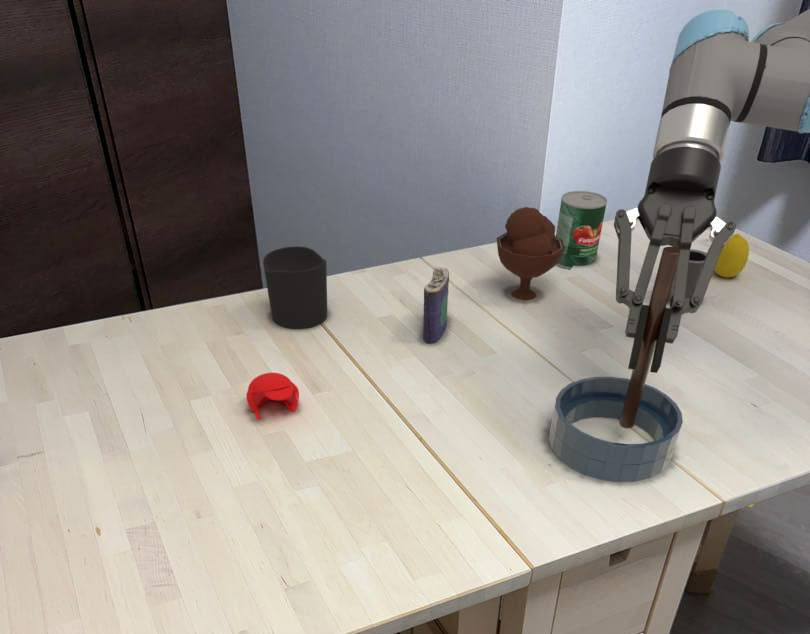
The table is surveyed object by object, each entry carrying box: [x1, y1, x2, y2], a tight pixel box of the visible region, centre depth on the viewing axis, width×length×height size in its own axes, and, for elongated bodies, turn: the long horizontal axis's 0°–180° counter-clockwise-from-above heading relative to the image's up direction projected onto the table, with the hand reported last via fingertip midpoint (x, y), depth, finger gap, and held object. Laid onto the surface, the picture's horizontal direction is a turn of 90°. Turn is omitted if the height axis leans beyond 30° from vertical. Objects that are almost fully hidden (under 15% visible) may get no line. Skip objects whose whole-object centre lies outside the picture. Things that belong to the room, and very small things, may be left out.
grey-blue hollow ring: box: [548, 376, 684, 483], centre depth 93 cm, size 15×15×6 cm
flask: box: [422, 266, 450, 345], centre depth 112 cm, size 9×3×11 cm, turn 166°
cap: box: [246, 372, 300, 421], centre depth 97 cm, size 8×6×6 cm
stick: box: [618, 246, 681, 429], centre depth 85 cm, size 2×2×22 cm
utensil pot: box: [667, 248, 707, 303], centre depth 122 cm, size 6×6×8 cm
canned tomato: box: [555, 190, 608, 270], centre depth 133 cm, size 8×8×11 cm
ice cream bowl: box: [496, 206, 565, 302], centre depth 120 cm, size 11×11×15 cm
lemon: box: [714, 233, 750, 279], centre depth 129 cm, size 6×6×8 cm
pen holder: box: [262, 246, 328, 330], centre depth 115 cm, size 9×9×10 cm
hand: (643, 367), depth 83 cm, fingers closed on stick, 2 cm apart
